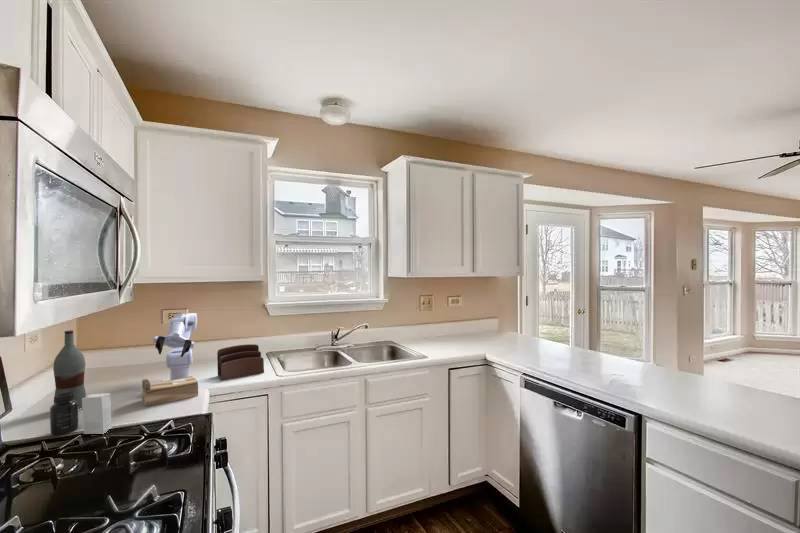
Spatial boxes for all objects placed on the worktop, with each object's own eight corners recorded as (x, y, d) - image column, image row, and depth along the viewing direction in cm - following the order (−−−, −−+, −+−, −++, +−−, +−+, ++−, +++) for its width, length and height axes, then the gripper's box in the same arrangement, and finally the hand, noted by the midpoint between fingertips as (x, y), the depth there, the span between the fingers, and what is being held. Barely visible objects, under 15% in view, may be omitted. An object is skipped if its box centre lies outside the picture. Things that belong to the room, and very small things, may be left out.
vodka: (46, 414, 138) (45, 333, 139) (67, 406, 147) (65, 329, 148) (73, 413, 139) (72, 332, 139) (92, 404, 148) (90, 328, 148)
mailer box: (142, 399, 152) (142, 387, 152) (192, 389, 163) (191, 378, 163) (146, 406, 143) (145, 393, 143) (198, 395, 155) (198, 383, 155)
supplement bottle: (49, 431, 122) (49, 394, 122) (77, 425, 127) (76, 389, 127) (50, 438, 117) (50, 399, 117) (79, 431, 122) (78, 393, 122)
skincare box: (112, 429, 122) (111, 392, 122) (103, 435, 117) (102, 396, 118) (92, 431, 121) (91, 393, 122) (81, 437, 117) (81, 398, 117)
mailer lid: (142, 386, 152) (141, 379, 152) (191, 377, 163) (191, 370, 163) (145, 392, 143) (145, 384, 143) (197, 382, 155) (197, 375, 155)
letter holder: (217, 376, 185) (216, 347, 185) (258, 369, 197) (258, 342, 197) (221, 380, 177) (220, 350, 177) (264, 373, 189) (263, 345, 189)
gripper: (158, 324, 155) (152, 342, 144) (197, 330, 162) (194, 347, 151) (154, 338, 157) (148, 357, 145) (192, 343, 164) (189, 362, 152)
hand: (171, 353), depth 148 cm, fingers open, 7 cm apart
